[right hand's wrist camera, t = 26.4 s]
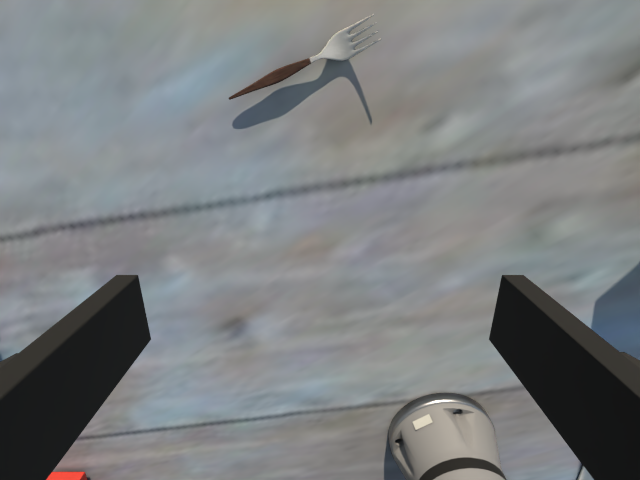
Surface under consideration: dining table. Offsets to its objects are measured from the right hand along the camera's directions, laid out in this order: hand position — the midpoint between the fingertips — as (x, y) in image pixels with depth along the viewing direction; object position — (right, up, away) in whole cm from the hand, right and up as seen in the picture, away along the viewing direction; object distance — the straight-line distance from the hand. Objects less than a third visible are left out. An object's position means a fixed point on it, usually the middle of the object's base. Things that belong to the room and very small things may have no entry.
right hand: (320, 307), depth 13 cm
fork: (-2, +20, +22) cm, 30 cm away
